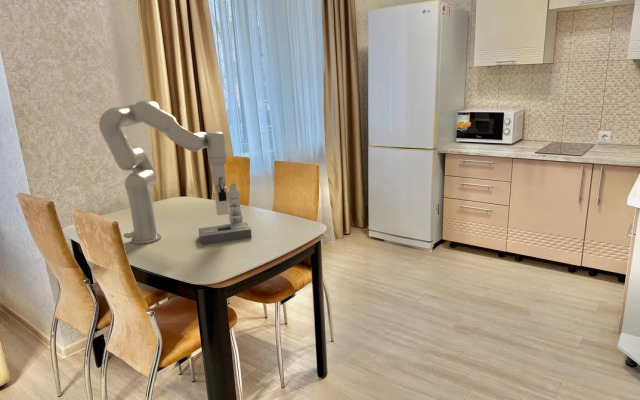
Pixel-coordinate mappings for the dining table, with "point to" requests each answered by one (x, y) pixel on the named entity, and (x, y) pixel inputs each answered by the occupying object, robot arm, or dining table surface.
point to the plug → (221, 203)
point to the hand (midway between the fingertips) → (221, 198)
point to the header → (224, 233)
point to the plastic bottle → (234, 205)
